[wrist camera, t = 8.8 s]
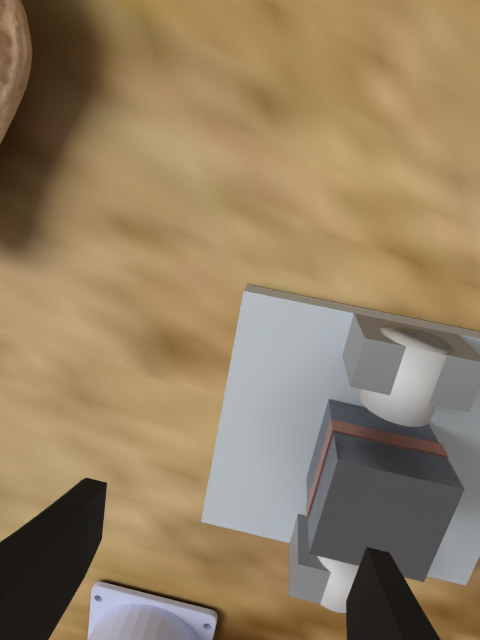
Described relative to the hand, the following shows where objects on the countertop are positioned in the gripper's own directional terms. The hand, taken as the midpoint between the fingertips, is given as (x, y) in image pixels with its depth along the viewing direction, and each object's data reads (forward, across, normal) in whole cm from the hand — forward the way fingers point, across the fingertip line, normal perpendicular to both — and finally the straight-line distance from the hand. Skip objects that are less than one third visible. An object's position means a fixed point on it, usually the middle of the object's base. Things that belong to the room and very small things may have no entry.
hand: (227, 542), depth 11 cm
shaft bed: (+10, -6, +2) cm, 12 cm away
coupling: (+9, -6, +2) cm, 11 cm away
